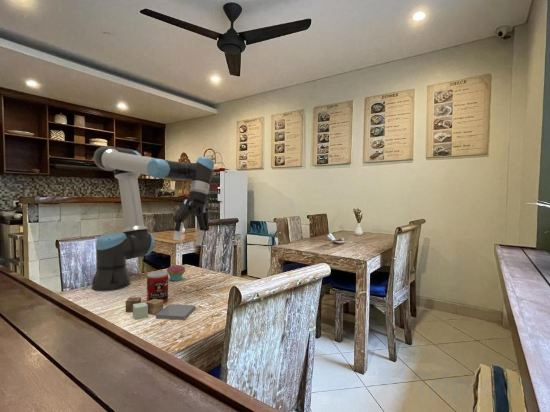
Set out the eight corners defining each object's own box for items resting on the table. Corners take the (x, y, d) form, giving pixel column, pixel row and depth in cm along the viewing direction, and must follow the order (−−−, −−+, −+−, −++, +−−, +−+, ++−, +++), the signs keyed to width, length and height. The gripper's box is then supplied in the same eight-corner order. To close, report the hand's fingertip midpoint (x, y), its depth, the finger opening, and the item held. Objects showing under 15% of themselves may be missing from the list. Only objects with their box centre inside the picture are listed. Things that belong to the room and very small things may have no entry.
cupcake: (181, 282, 142) (181, 257, 141) (163, 281, 142) (163, 256, 141) (187, 277, 150) (187, 253, 150) (170, 277, 150) (170, 253, 150)
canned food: (147, 306, 110) (147, 277, 110) (146, 299, 117) (146, 272, 117) (169, 303, 114) (169, 275, 113) (166, 297, 121) (166, 270, 121)
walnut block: (125, 312, 105) (125, 301, 105) (129, 308, 109) (129, 297, 109) (137, 312, 105) (137, 300, 105) (140, 307, 109) (140, 297, 109)
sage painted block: (135, 319, 99) (135, 308, 99) (133, 315, 102) (133, 304, 102) (147, 317, 101) (147, 305, 101) (145, 313, 104) (145, 302, 104)
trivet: (155, 318, 100) (155, 314, 100) (169, 307, 110) (169, 304, 110) (184, 319, 99) (184, 316, 99) (195, 308, 109) (195, 305, 109)
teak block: (145, 313, 104) (145, 302, 104) (155, 309, 108) (155, 298, 108) (154, 315, 103) (154, 304, 102) (163, 311, 106) (163, 300, 106)
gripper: (186, 183, 113) (173, 238, 108) (222, 201, 135) (213, 248, 130) (171, 182, 116) (158, 236, 111) (209, 201, 138) (199, 246, 133)
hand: (187, 242), depth 121 cm, fingers open, 13 cm apart
